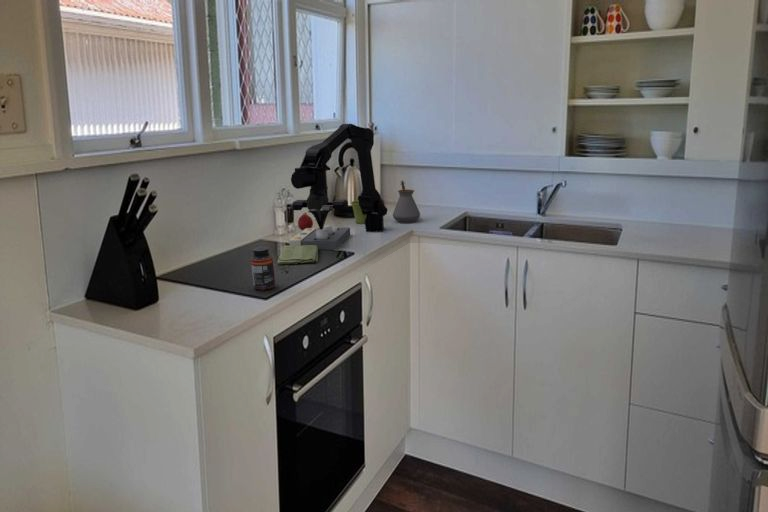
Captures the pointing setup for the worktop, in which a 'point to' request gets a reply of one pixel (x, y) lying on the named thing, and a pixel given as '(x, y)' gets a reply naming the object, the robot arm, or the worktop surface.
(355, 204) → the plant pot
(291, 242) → the tile
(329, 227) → the button
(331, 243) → the board
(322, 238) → the button
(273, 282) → the supplement bottle
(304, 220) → the onion
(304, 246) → the washcloth
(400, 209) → the coffee pot
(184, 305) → the worktop surface
